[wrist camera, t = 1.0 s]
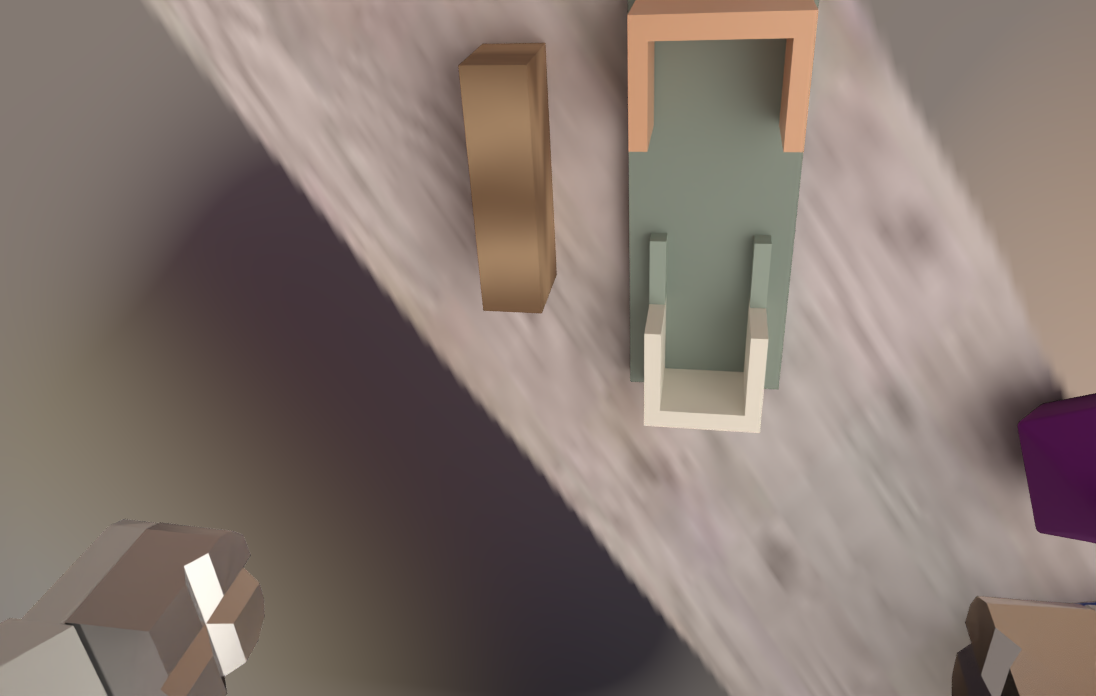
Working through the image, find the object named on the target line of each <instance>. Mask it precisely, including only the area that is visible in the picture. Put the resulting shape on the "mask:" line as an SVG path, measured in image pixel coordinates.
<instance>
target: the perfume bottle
mask: <svg viewBox="0 0 1096 696" xmlns="http://www.w3.org/2000/svg"><path fill="white" fill-rule="evenodd" d="M1017 427H1018V433H1019V438H1020V444H1021V449H1022V455H1023V460H1024V466H1025V471H1026V476H1027V482H1028V487H1029V493H1030V498H1031V504H1032V509H1033V515H1034V520H1035V526H1036V530H1037V531H1038V532H1040V533H1044V534H1049V535H1054V536H1060V537H1065V538H1071V539H1076V540H1081V541H1087V542H1092V543H1096V393H1095V394H1090V395H1085V396H1080V397H1074V398H1069V399H1064V400H1059V401H1054V402H1049V403H1044V404H1042V405H1040V406H1039V407H1037V408H1036V409H1035V410H1033V411H1032V412H1031V413H1030V414H1028V415H1027V416H1026V417H1025V418H1023V419H1022V420H1021V421H1020V422H1019V423H1018V425H1017Z"/></svg>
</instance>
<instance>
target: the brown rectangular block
mask: <svg viewBox="0 0 1096 696" xmlns="http://www.w3.org/2000/svg"><path fill="white" fill-rule="evenodd" d="M458 68H459V78H460V88H461V97H462V107H463V117H464V127H465V136H466V146H467V156H468V166H469V175H470V185H471V195H472V205H473V215H474V224H475V234H476V244H477V254H478V263H479V273H480V283H481V293H482V302H483V311H503V312H524V313H542V311H543V309H544V306H545V304H546V301H547V298H548V296H549V293H550V291H551V288H552V285H553V283H554V280H555V278H556V275H557V271H556V250H555V230H554V210H553V189H552V169H551V149H550V128H549V108H548V88H547V67H546V47H545V43H511V44H482V45H481V46H480V47H479V48H478V49H476V50H475V51H474V52H473V53H472V54H471V55H470V56H469V57H467V58H466V59H465V60H464V61H463V62H462V63H461V64H459V65H458Z"/></svg>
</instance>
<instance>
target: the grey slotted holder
mask: <svg viewBox="0 0 1096 696" xmlns="http://www.w3.org/2000/svg"><path fill="white" fill-rule="evenodd" d="M634 2H635V0H628V13H629V11H630V9H631V8H632V6H633V4H634ZM814 2H815V4H816V6H817V8H818V6H819V0H814ZM786 40H787V38H780V39H733V40H687V41H655V47H654V127H653V131H652V135H651V139H650V143H649V147H648V151H647V152H629V254H630V381H631V382H644V426H657V427H673V428H688V429H704V430H720V431H736V432H751V433H760V425H761V414H762V404H763V393H764V389H779V380H780V370H781V360H782V351H783V341H784V332H785V322H786V312H787V303H788V293H789V284H790V274H791V265H792V255H793V245H794V236H795V226H796V217H797V207H798V198H799V188H800V178H801V169H802V159H803V152H783V146H782V140H781V134H780V128H779V120H780V109H781V97H782V86H783V74H784V63H785V51H786Z"/></svg>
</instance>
